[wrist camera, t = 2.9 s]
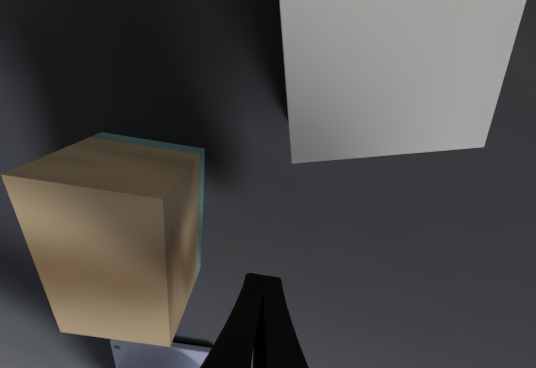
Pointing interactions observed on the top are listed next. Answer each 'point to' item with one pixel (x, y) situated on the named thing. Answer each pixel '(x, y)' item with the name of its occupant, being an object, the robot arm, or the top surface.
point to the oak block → (114, 233)
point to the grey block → (393, 74)
